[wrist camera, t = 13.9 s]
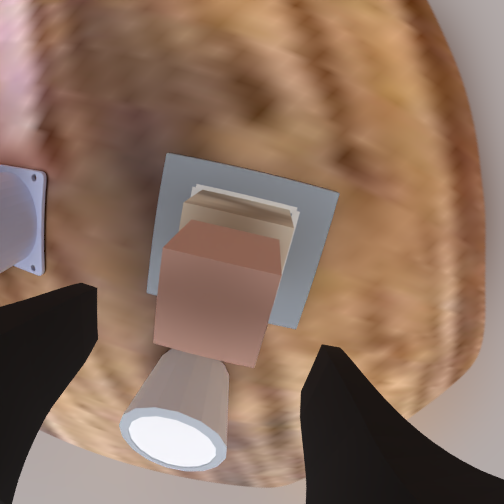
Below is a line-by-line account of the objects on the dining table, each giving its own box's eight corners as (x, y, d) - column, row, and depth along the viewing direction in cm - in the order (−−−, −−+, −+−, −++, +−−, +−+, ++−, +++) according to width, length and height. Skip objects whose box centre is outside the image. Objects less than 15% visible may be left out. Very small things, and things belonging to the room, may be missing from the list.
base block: (187, 269, 19) (168, 299, 15) (202, 189, 18) (183, 202, 14) (267, 288, 19) (266, 323, 16) (289, 209, 18) (294, 228, 14)
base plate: (149, 288, 20) (146, 292, 20) (170, 152, 18) (166, 152, 17) (295, 324, 21) (296, 329, 20) (337, 192, 18) (339, 193, 17)
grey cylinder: (179, 322, 21) (146, 390, 15) (256, 374, 22) (250, 448, 16) (136, 373, 23) (104, 435, 17) (205, 416, 24) (189, 482, 18)
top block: (179, 296, 15) (153, 343, 12) (191, 219, 14) (162, 247, 10) (258, 315, 15) (254, 368, 12) (279, 239, 14) (281, 275, 10)
